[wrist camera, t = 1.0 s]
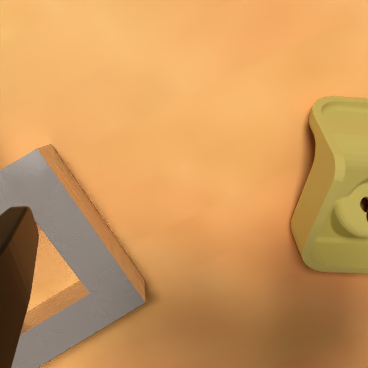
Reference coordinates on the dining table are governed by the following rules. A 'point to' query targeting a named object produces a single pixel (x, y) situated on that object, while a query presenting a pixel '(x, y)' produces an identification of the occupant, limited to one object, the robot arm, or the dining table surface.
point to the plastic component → (335, 189)
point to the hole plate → (69, 259)
